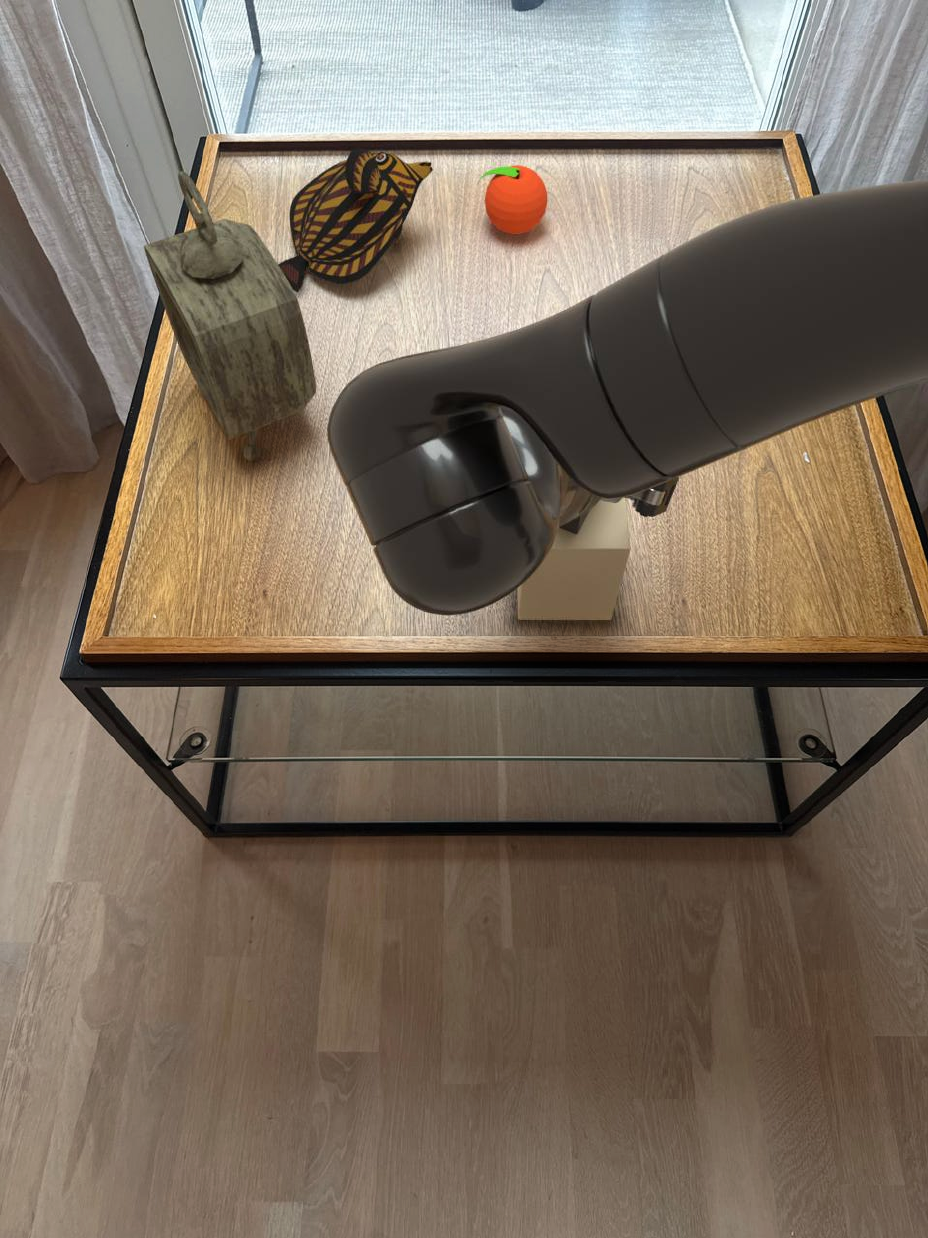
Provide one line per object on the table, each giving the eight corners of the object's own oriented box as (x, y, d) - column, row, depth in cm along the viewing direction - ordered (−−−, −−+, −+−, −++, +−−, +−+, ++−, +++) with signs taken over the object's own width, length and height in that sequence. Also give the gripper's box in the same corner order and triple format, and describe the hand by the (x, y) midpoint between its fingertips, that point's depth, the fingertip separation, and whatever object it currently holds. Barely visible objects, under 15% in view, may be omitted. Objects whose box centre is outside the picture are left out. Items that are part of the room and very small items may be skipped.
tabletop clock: (190, 379, 93) (106, 146, 71) (273, 348, 95) (216, 113, 73) (244, 479, 87) (170, 257, 65) (331, 444, 89) (288, 217, 67)
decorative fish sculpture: (406, 309, 98) (399, 213, 88) (265, 284, 100) (242, 187, 90) (440, 225, 104) (438, 127, 94) (307, 203, 106) (291, 105, 96)
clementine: (468, 239, 103) (468, 182, 97) (484, 201, 107) (485, 143, 100) (537, 252, 102) (541, 195, 96) (551, 213, 105) (556, 155, 99)
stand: (604, 543, 83) (622, 465, 73) (611, 620, 79) (631, 548, 69) (515, 543, 83) (522, 465, 73) (518, 620, 79) (525, 548, 69)
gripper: (677, 445, 50) (700, 439, 65) (444, 361, 53) (517, 374, 68) (627, 571, 52) (660, 537, 67) (406, 484, 55) (485, 470, 71)
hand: (588, 455), depth 68 cm, fingers open, 8 cm apart
